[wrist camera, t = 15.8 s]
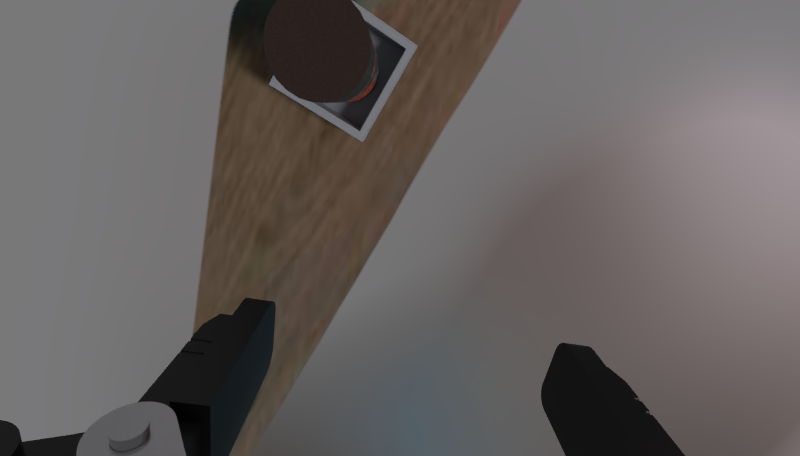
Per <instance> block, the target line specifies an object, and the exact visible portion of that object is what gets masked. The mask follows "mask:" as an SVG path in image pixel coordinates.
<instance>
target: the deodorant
mask: <svg viewBox="0 0 800 456" xmlns="http://www.w3.org/2000/svg"><path fill="white" fill-rule="evenodd" d="M263 44H264V53H265V56H266V59H267V63H268V66H269V68H270V69H271V71H272V73H273V74H274V76H275V78H276V80H277V81H278V82H279V83H280V84H281V85H282V86H283V87H284V88H285V89H286V90H287V91H289V92H290V93H292V94H293V95H295V96H297V97H298V98H300V99H303V100H306V101H310V102H316V103H339V102H354V101H359V100H361V99H363V98H365V97H366V96H368V95H369V94H370V93H371V92H372V91H373V89H374V87H375V86H376V84H377V81H378V78H379V67H380V66H379V61H378V57H377V54H376V51H375V48H374V45H373V42H372V38H371V35H370V32H369V29H368V26H367V24H366V22H365V20H364V18H363V16H362V14H361V12H360V11H359V9H358V8H357V7H356V6H355V4H354V3H353V2H352V1H351V0H277V1H276V3H275V4H274V5H273V6H272V8H271V10H270V12H269V14H268V16H267V18H266V21H265V27H264V32H263Z"/></svg>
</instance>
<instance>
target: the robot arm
mask: <svg viewBox="0 0 800 456" xmlns="http://www.w3.org/2000/svg"><path fill="white" fill-rule="evenodd" d="M275 310H276V306H275V302H273V301H266V300H258V299H251V298H245V299H244V300H243V301H242V303H241V304H240V306H239V307H238V308H237V310H236V311H235V312H234V314H233V315H226V314H220V315H218V316H216V317H215V318H213V319H211V320H209V321H208V322H206V323H204V324H203V325H202V326H201V327H200V328H199V330H198V331H197V332H196V333H195V334H194V336H193V337H192V338H191V341H189V342H188V343H187V344H186V345H185V346H184V348H183V349H182V350H181V352H180V353H179V354H178V355H177V356H176V357H175V358H174V360H173V361H172V362H171V363H170V364H169V366H168V367H167V368H166V369H165V370H164V372H163V373H162V374H161V375H160V376H159V378H158V379H157V380H156V381H155V382H154V384H153V385H152V386H151V387H150V388H149V389H148V391H147V392H146V393H145V394H144V396H143V397H142V398H141V399H140V400H139V401H138V403H133V404H129V405H126V406H123V407H120V408H118V409H115V410H113V411H111V412H109V413H108V414H106V415H104V416H103V417H101V418H100V419H99V420H97V421H96V422H95V423H94V424H92V425H91V426H90V427H89V428H88V430H87V431H86V432H84V433H78V434H73V435H66V436H60V437H53V438H46V439H40V440H33V441H26V442H22V440H21V436H20V432H19V429H18V428H17V427H16V426H15V425H14V424H12V423H10V422H7V421H2V420H0V456H229V454H230V452H231V450H232V448H233V445H234V443H235V441H236V439H237V437H238V435H239V432H240V430H241V428H242V426H243V424H244V422H245V419H246V417H247V415H248V413H249V411H250V409H251V406H252V404H253V402H254V400H255V398H256V396H257V393H258V391H259V389H260V387H261V385H262V382H263V380H264V378H265V376H266V374H267V371H268V369H269V365H270V362H271V358H272V352H273V341H274V325H275ZM541 399H542V405H543V408H544V411H545V412H546V415H547V417H548V419H549V421H550V423H551V425H552V427H553V430H554V431H555V434H556V436H557V438H558V440H559V442H560V444H561V447H562V449H563V451H564V453H565V455H566V456H685V455H684V454H683V453H682V451H681V450H680V449H679V448H678V446H677V445H676V444H675V443H674V441H673V440H672V439H671V438H670V436H669V435H668V434H667V433H666V431H665V430H664V429H663V428H662V426H661V425H660V424H659V423H658V421H657V420H656V419H655V418H654V416H653V415H650V411H649V410H648V409H647V408H646V406H645V405H644V404H643V403H642V402H641V401H639V398H638V396H637V395H636V394H635V393H634V392H633V390H632V389H631V388H630V386H629V385H628V384H627V383H626V382H625V381H624V380H623V379H622V378H620V377H619V376H618V375H617V374H616V373H614V372H613V371H612V370H611V369H609V368H608V367H606V366H605V365H604V363H603V362H602V361H601V359H600V358H599V357H598V355H597V354H596V353H595V351H594V350H593V349H592V348H590V347H588V346H582V345H574V344H567V343H561V344H559V345H558V347H557V348H556V351H555V353H554V356H553V359H552V361H551V364H550V366H549V369H548V372H547V374H546V377H545V380H544V382H543V385H542V390H541Z"/></svg>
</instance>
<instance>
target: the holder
mask: <svg viewBox="0 0 800 456" xmlns="http://www.w3.org/2000/svg"><path fill="white" fill-rule="evenodd" d="M351 1H352V0H351ZM352 2H353V3H354V4H355V6H356V7H357V8H358V9H359V11H360V12H361V14H362V16H363V18H364V20H365V22H366V24H367V26H368V29H369V32H370V35H371V38H372V42H373V45H374V48H375V51H376V54H377V57H378V61H379V66H380V67H379V78H378V81H377V84H376V86H375V87H374V89H373V91H372V92H371V93H370V94H369V95H368V96H366V97H365V98H363V99H361V100H359V101H354V102H339V103H316V102H310V101H306V100H303V99H300V98H298V97H297V96H295V95H293V94H292V93H290V92H289V91H287V90H286V89H285V88H284V87H283V86H282V85H281V84H280V83H279V82H278V81H277V80H276V78H275V76H274V75H273V77H272V79H271V81H270V83H269V85H271V86H272V87H274V88H275V89H277V90H279V91H280V92H282V93H284V94H285V95H287V96H288V97H290V98H292V99H293V100H295V101H297V102H298V103H300V104H302V105H303V106H305V107H306V108H308V109H310V110H311V111H313V112H315V113H316V114H318V115H319V116H321V117H323V118H324V119H326V120H328V121H329V122H331V123H332V124H334V125H336V126H337V127H339V128H341V129H342V130H344V131H345V132H347V133H349V134H350V135H352V136H354V137H355V138H357V139H358V140H360V141H362V142H363V141H364V139H365V138H366V136H367V134H368V133H369V131H370V129H371V127H372V126H373V124H374V122H375V120H376V119H377V117H378V115H379V113H380V112H381V110H382V108H383V106H384V105H385V103H386V101H387V100H388V98H389V96H390V94H391V93H392V91H393V89H394V87H395V86H396V84H397V82H398V80H399V79H400V77H401V75H402V73H403V72H404V70H405V68H406V66H407V65H408V63H409V61H410V59H411V58H412V56H413V54H414V52H415V51H416V48H417V45H416V44H414V43H413V42H411V41H410V40H408V39H407V38H406V37H404V36H403V35H401V34H400V33H398V32H397V31H396V30H394V29H393V28H391V27H390V26H388V25H387V24H385V23H384V22H383V21H381V20H380V19H378V18H377V17H375V16H374V15H372V14H371V13H370V12H368V11H367V10H365V9H364V8H362V7H361V6H359V5H358V4H357V3H355V2H354V1H352Z"/></svg>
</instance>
